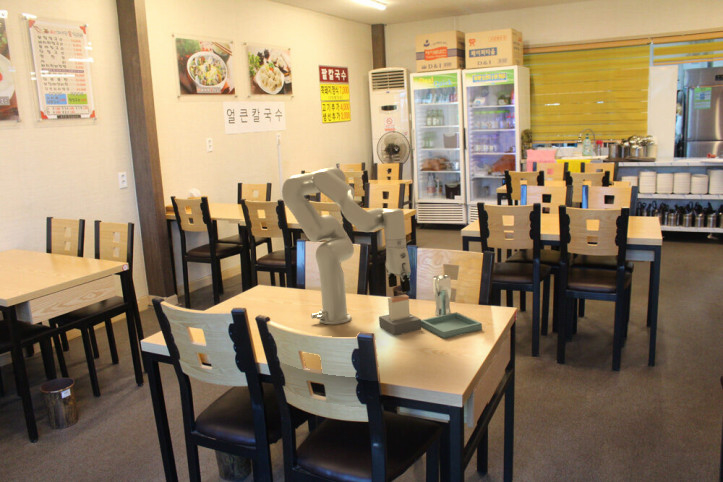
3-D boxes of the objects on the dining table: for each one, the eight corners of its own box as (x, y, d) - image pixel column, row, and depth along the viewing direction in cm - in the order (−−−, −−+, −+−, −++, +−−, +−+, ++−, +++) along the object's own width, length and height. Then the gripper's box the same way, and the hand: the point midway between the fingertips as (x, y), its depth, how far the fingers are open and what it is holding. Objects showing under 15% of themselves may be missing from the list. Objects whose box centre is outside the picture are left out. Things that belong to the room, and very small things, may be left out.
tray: (444, 338, 211) (443, 332, 211) (420, 326, 226) (420, 320, 225) (481, 329, 218) (481, 323, 217) (456, 318, 232) (456, 312, 232)
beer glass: (451, 316, 235) (450, 279, 232) (433, 316, 236) (431, 279, 233) (452, 311, 241) (451, 274, 239) (434, 311, 243) (433, 274, 240)
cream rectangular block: (393, 325, 222) (391, 299, 220) (389, 323, 225) (388, 297, 223) (410, 322, 225) (408, 296, 223) (406, 320, 228) (404, 294, 226)
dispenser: (394, 335, 218) (394, 323, 217) (379, 326, 229) (378, 315, 228) (421, 329, 222) (420, 317, 221) (405, 321, 233) (404, 309, 232)
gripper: (416, 244, 213) (420, 291, 216) (393, 238, 229) (397, 282, 232) (398, 247, 210) (401, 295, 213) (375, 241, 226) (379, 286, 229)
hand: (399, 288), depth 222 cm, fingers open, 9 cm apart
